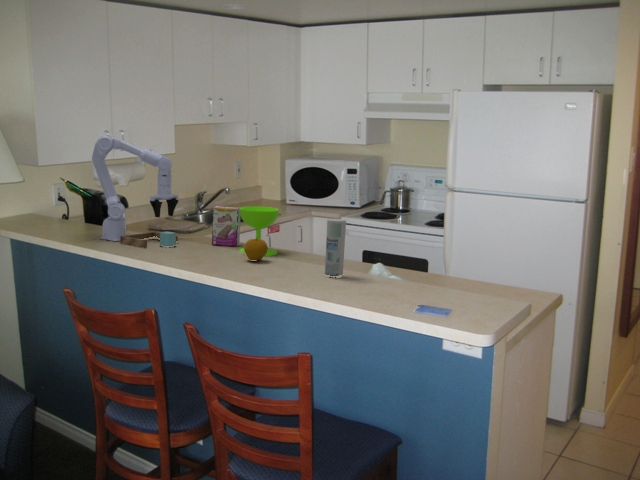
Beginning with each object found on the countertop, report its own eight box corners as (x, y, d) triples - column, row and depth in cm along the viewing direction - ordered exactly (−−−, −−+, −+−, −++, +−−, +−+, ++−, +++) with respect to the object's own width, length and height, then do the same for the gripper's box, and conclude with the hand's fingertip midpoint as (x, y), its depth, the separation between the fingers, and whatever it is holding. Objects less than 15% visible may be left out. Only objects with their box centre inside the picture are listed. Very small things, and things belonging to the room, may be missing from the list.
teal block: (159, 246, 274) (160, 232, 273) (167, 245, 277) (167, 231, 276) (168, 248, 271) (168, 233, 270) (175, 247, 274) (175, 232, 273)
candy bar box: (211, 245, 282) (212, 207, 280) (214, 243, 287) (215, 205, 285) (237, 247, 281) (238, 208, 279) (239, 245, 286) (241, 207, 284)
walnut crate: (120, 243, 277) (120, 236, 276) (153, 238, 291) (153, 232, 291) (145, 248, 268) (145, 240, 268) (177, 243, 283) (177, 236, 283)
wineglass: (231, 253, 266) (232, 209, 263) (247, 247, 281) (248, 205, 278) (268, 257, 261) (270, 212, 258) (282, 251, 276) (284, 208, 273)
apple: (263, 264, 247) (264, 240, 246) (240, 262, 249) (241, 238, 248) (270, 260, 256) (270, 237, 255) (247, 258, 258) (248, 235, 256)
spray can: (346, 276, 233) (349, 220, 230) (337, 279, 228) (340, 221, 225) (330, 273, 237) (333, 218, 234) (321, 276, 231) (323, 219, 228)
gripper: (158, 186, 277) (157, 218, 279) (183, 185, 289) (182, 216, 291) (146, 185, 281) (146, 217, 283) (171, 184, 293) (171, 214, 295)
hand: (164, 216), depth 288 cm, fingers open, 7 cm apart
